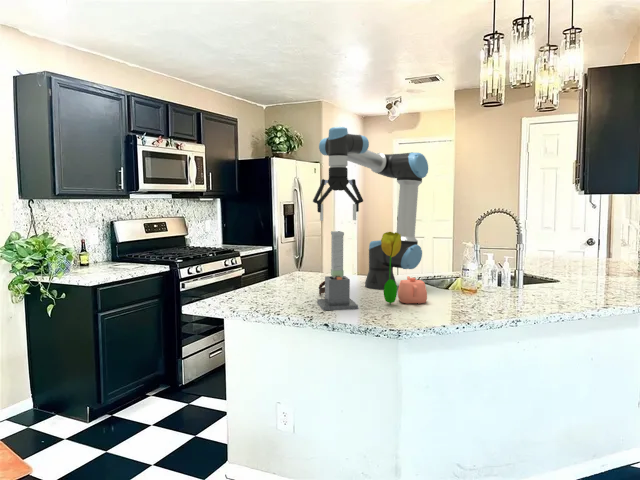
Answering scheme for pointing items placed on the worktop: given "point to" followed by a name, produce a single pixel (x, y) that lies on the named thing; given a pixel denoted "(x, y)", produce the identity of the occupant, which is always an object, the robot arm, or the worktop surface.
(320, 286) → the pottery mug
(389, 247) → the flower
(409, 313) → the worktop surface
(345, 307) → the stand base
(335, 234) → the column
